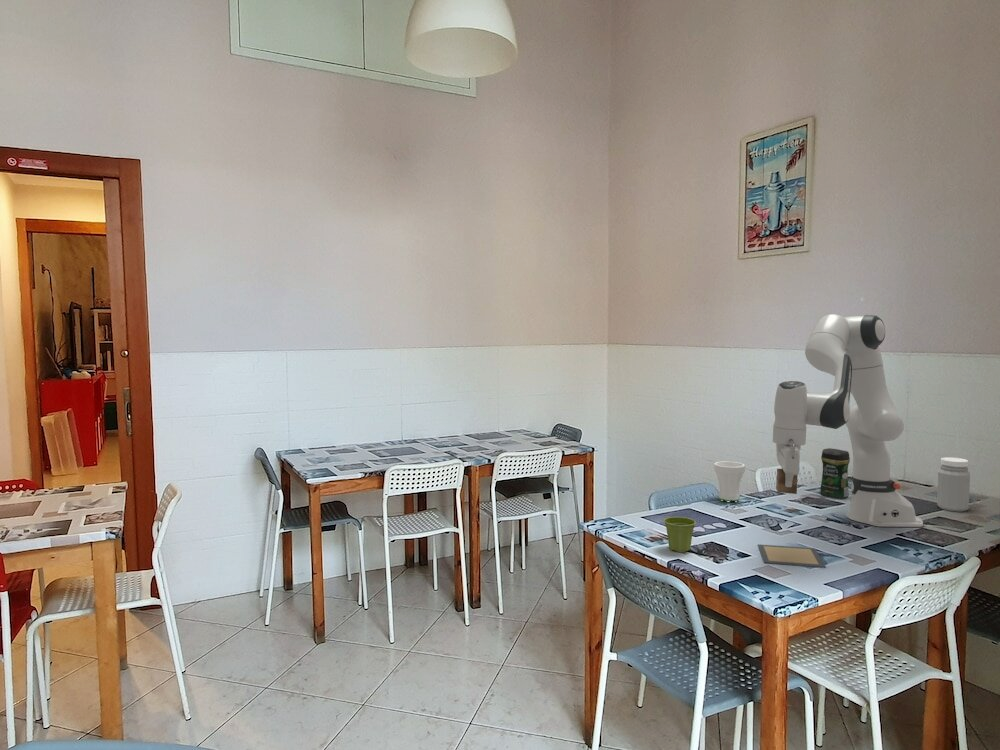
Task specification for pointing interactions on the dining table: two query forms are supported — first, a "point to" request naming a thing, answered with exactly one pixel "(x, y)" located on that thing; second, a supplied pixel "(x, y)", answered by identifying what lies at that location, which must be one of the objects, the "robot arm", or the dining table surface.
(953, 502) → the jar
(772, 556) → the coaster mat
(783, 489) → the walnut block
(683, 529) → the plant pot
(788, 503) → the dining table surface
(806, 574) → the dining table surface
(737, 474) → the cup
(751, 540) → the dining table surface
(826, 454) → the coffee jar
